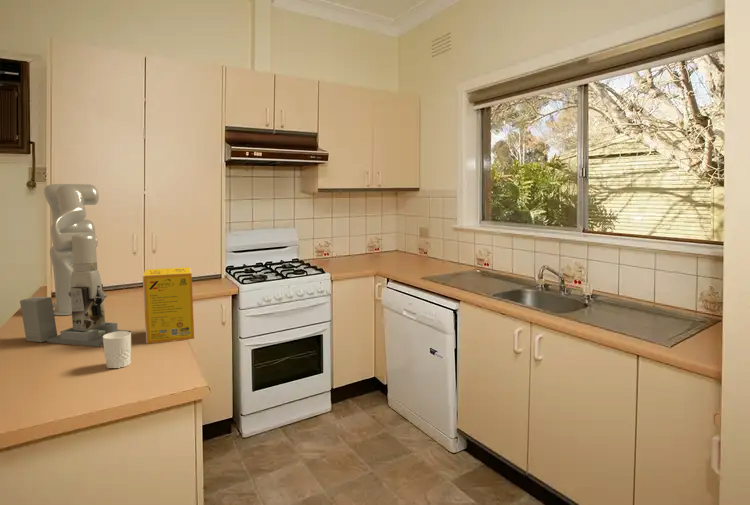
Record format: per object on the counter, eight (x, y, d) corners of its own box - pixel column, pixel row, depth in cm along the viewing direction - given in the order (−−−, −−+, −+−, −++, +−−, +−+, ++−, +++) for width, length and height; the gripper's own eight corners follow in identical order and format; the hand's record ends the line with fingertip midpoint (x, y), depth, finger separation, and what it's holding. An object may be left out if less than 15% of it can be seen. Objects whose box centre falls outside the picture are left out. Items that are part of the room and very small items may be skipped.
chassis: (47, 342, 170) (46, 331, 170) (82, 329, 186) (82, 319, 185) (98, 346, 166) (98, 335, 165) (130, 333, 181) (130, 323, 181)
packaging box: (148, 331, 184) (145, 269, 181) (192, 327, 191) (190, 267, 188) (146, 343, 170) (142, 276, 167) (194, 338, 176) (191, 273, 173)
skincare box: (58, 338, 175) (54, 296, 173) (39, 343, 169) (35, 300, 167) (42, 335, 178) (38, 295, 176) (22, 341, 171) (19, 299, 169)
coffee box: (87, 331, 170) (84, 288, 168) (72, 330, 172) (69, 287, 170) (106, 324, 179) (103, 283, 177) (91, 323, 180) (89, 282, 178)
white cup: (111, 361, 152) (109, 331, 151) (136, 360, 153) (135, 331, 151) (99, 370, 144) (97, 338, 143) (126, 369, 145) (124, 338, 143)
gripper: (57, 268, 171) (60, 315, 173) (97, 270, 167) (100, 318, 169) (74, 265, 178) (77, 311, 180) (113, 266, 175) (116, 313, 177)
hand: (88, 314), depth 175 cm, fingers closed on coffee box, 6 cm apart
